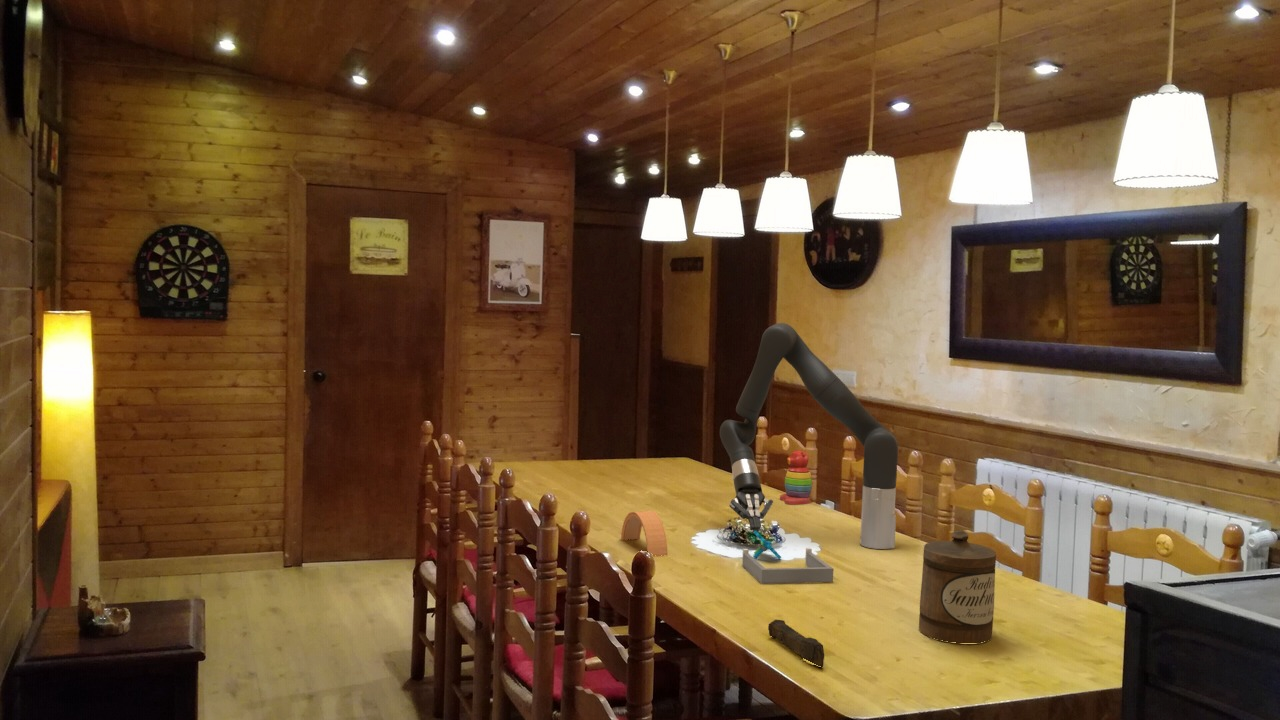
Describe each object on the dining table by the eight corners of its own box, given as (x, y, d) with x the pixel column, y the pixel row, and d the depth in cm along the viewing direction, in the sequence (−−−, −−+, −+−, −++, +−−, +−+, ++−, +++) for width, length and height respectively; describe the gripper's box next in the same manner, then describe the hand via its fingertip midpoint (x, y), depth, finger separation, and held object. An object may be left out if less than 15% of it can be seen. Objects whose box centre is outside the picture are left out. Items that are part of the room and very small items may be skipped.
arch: (647, 557, 265) (648, 520, 265) (620, 540, 284) (622, 505, 283) (667, 556, 267) (668, 519, 267) (639, 538, 286) (641, 504, 285)
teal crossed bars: (785, 558, 262) (759, 530, 263) (769, 573, 262) (743, 545, 263) (780, 553, 273) (755, 526, 274) (764, 568, 273) (739, 541, 274)
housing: (742, 565, 260) (742, 548, 259) (809, 564, 263) (810, 547, 263) (761, 583, 243) (762, 566, 243) (832, 582, 247) (833, 564, 246)
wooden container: (955, 649, 201) (960, 541, 200) (904, 626, 214) (908, 525, 213) (1007, 639, 208) (1013, 535, 207) (955, 618, 221) (960, 520, 220)
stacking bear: (778, 498, 351) (780, 448, 350) (806, 498, 353) (808, 448, 351) (786, 504, 341) (788, 453, 340) (815, 505, 342) (817, 453, 341)
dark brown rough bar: (767, 638, 205) (767, 616, 204) (784, 636, 206) (785, 614, 205) (808, 672, 186) (809, 648, 186) (828, 670, 188) (828, 646, 187)
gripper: (727, 470, 285) (736, 523, 274) (771, 471, 287) (782, 523, 276) (721, 485, 290) (730, 537, 279) (764, 486, 293) (775, 537, 282)
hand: (756, 530), depth 278 cm, fingers closed
